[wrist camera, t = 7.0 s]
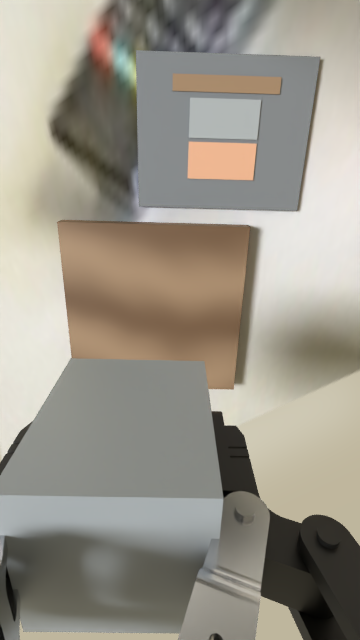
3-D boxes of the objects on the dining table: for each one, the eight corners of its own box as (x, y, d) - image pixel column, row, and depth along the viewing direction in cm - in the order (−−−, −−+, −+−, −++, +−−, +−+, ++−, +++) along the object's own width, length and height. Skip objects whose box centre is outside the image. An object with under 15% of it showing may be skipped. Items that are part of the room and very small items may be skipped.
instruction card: (136, 52, 19) (135, 49, 18) (318, 58, 19) (321, 56, 19) (139, 205, 22) (138, 206, 21) (295, 210, 22) (297, 210, 22)
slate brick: (71, 358, 13) (-12, 494, 7) (204, 361, 13) (223, 498, 7) (82, 460, 15) (23, 631, 9) (198, 463, 15) (210, 633, 9)
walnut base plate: (62, 219, 22) (57, 221, 21) (247, 225, 22) (250, 227, 21) (78, 378, 27) (74, 386, 26) (231, 382, 27) (233, 389, 26)
